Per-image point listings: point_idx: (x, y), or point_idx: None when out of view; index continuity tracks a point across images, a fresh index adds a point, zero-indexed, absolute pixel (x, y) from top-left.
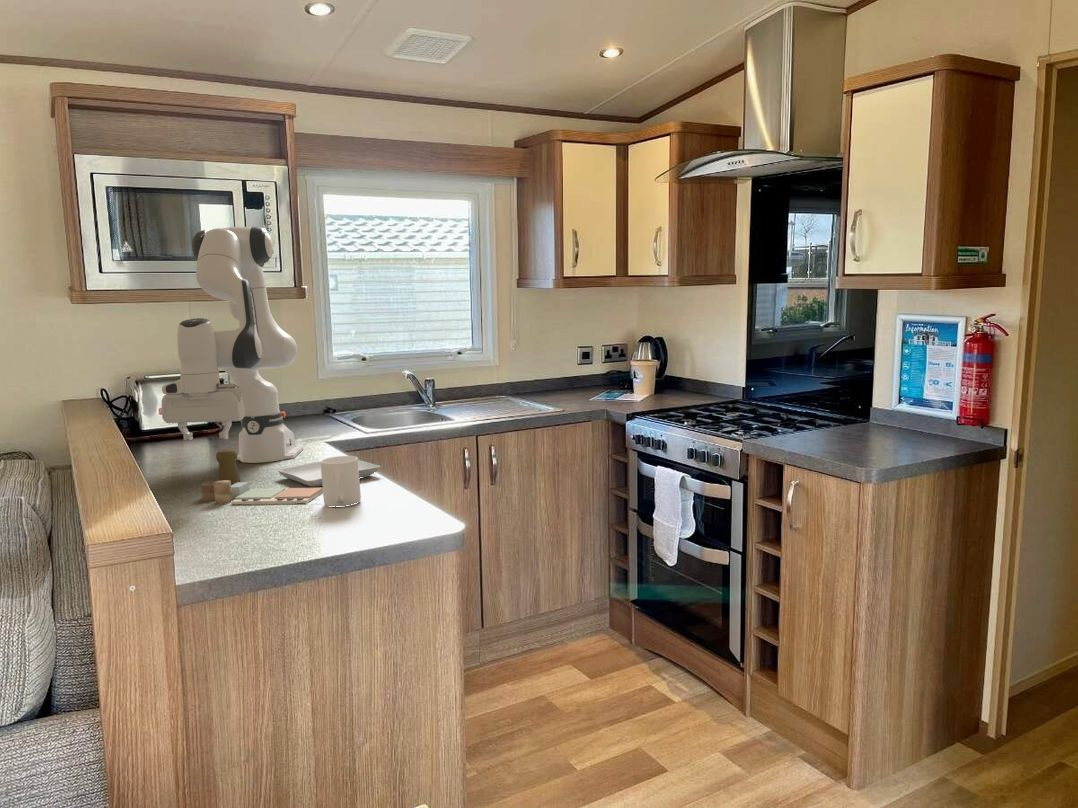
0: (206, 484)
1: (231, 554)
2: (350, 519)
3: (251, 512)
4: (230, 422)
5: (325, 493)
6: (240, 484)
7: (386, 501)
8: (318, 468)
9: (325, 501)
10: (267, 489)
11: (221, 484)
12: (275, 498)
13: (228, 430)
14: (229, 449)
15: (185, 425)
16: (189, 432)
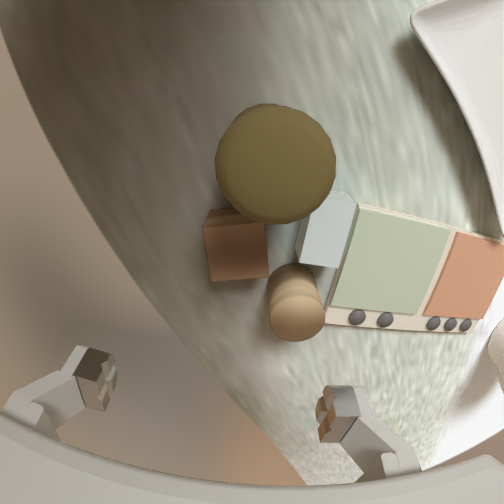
0: (226, 273)
1: (353, 476)
2: (487, 396)
3: (373, 372)
4: (410, 470)
5: (497, 368)
6: (334, 232)
7: None
8: (490, 3)
9: (490, 356)
10: (408, 232)
11: (302, 339)
12: (424, 313)
13: (379, 425)
14: (301, 173)
15: (51, 427)
16: (76, 376)
